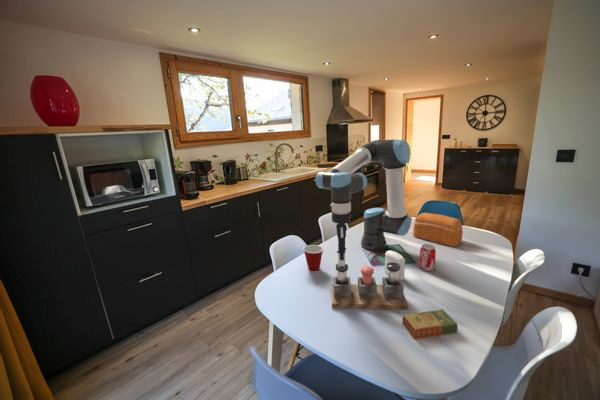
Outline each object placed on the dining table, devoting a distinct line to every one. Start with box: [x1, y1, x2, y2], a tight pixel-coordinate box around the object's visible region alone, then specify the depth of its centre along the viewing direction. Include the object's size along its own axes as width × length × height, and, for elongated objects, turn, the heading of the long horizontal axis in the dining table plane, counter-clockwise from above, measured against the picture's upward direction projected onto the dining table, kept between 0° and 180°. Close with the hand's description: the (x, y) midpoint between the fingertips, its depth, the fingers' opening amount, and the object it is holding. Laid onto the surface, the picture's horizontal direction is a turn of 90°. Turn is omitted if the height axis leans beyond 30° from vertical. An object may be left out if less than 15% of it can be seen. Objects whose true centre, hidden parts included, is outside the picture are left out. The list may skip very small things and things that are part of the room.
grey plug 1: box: [335, 263, 349, 285], centre depth 112 cm, size 5×5×9 cm
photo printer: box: [384, 250, 406, 281], centre depth 127 cm, size 10×4×12 cm, turn 26°
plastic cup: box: [302, 244, 325, 273], centre depth 138 cm, size 11×11×12 cm
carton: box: [402, 309, 459, 340], centre depth 94 cm, size 8×16×4 cm, turn 98°
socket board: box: [331, 276, 409, 311], centre depth 112 cm, size 30×14×8 cm, turn 84°
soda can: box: [418, 243, 437, 272], centre depth 132 cm, size 7×7×12 cm
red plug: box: [360, 265, 375, 285], centre depth 111 cm, size 5×5×9 cm
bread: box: [412, 212, 463, 248], centre depth 165 cm, size 14×26×16 cm, turn 42°
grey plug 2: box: [387, 262, 400, 285], centre depth 109 cm, size 5×5×9 cm
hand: (341, 265), depth 110 cm, fingers closed
